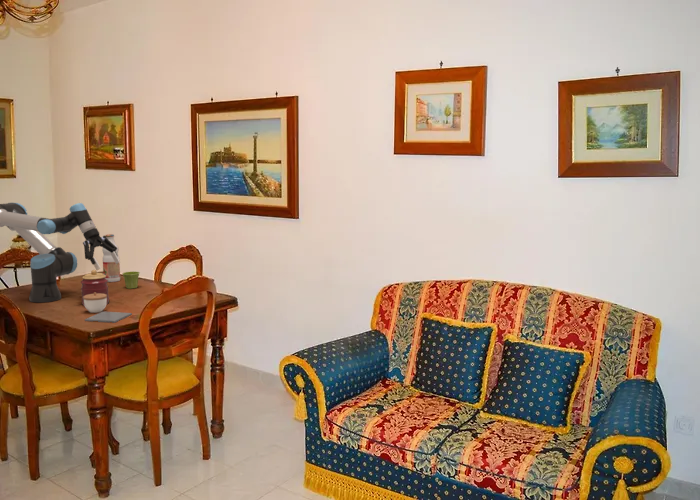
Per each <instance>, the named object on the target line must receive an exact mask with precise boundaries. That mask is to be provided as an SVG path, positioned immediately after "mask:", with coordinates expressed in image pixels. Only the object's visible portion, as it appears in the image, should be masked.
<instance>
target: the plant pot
mask: <svg viewBox="0 0 700 500" xmlns="http://www.w3.org/2000/svg"><path fill="white" fill-rule="evenodd" d="M140 273H141V272H139V271H125V272H122V275H123V279H124V284H125V288H126V289H129V290H131V289H137V288H138V284H139V276H140Z"/></svg>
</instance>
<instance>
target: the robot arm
mask: <svg viewBox="0 0 700 500" xmlns="http://www.w3.org/2000/svg"><path fill="white" fill-rule="evenodd" d="M69 212H70V213H68V214H67V215H65V216H63V217H54V218H47V217H42V216H36V215H31V214H28V212H27V208H26V207H25V206H24V205H23V204H21V203H19V202H8V203H7V202H6V203H0V228H2V227H7V228H8V229H9V230H10V231H12V232H13V231H14V232H15V233H17V234H18V235H19V236H20V237H21V238H23V240H24V241H25V242H27V243H28V244H29V245H30V246H31V248H33V249H34V250H35V251H36V252H37V253H38V254H37V255H34V256H32V258H31V259H30V274H31V290H30V293H29V296H28V298H29V299H28V300H29V302H30V303H49V302H55V301H59V300H61V299H62V293H61V291H60V289H59V286H58V283H57V278H58V277H62V276H65V275H66V276H67V275H70V274H72V273H74V272H75V271H76V270H77V268H78V259H77V256H76V254H75V253H73V252H70V251H67V252H66V251H65V250H64V249H63V248H62V247H60V246H56V245H55V244H54V243H53V242H51V241H50V240H49V238H47V237H46V236H45V235H51V234H55V233H56V234H57V233H59V234H62V235H66V234H68V233H70V232H71V231H72V230H74V229H75V228H77V227H78V228H79V229H80V232H81V234H82V236H83V237H84V239H85V240H84V241H83V242H82V245H83V249H84V259H85V260H88V261H90V262H91V264H92V265H93V266H94V268H95V270H96V271H98V270H100V269H101V268H102V267H101V265H100V264H99V261H98V260H97V258H96V257H95V256H94V255H95V253H94V252H95V248H98V247H102V248H105V249H106V250H108V251H110V252H111V256H112V257H113V259H114V261H115V263H116V264H118V263H119V264H120V263H121V261H120V260H121V259H120V258H119V259H118V255H119V254H118V255H117V253H116V252H115V251H116V250H117V247H116V246H115V245H113V244H112V243H111V242H110V241H109V240H108V239H107V238H106V236H105V235H103V236H101V235H100V231H99V229H98V227H97V228H96V224H95V223H94V220H93V219H92V217H91V215H90V214H89V211H88V210H87V207H86V206H85V205H84V203H82V202H78V203H75V204H73V205H71V206H70V207H69Z"/></svg>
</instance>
